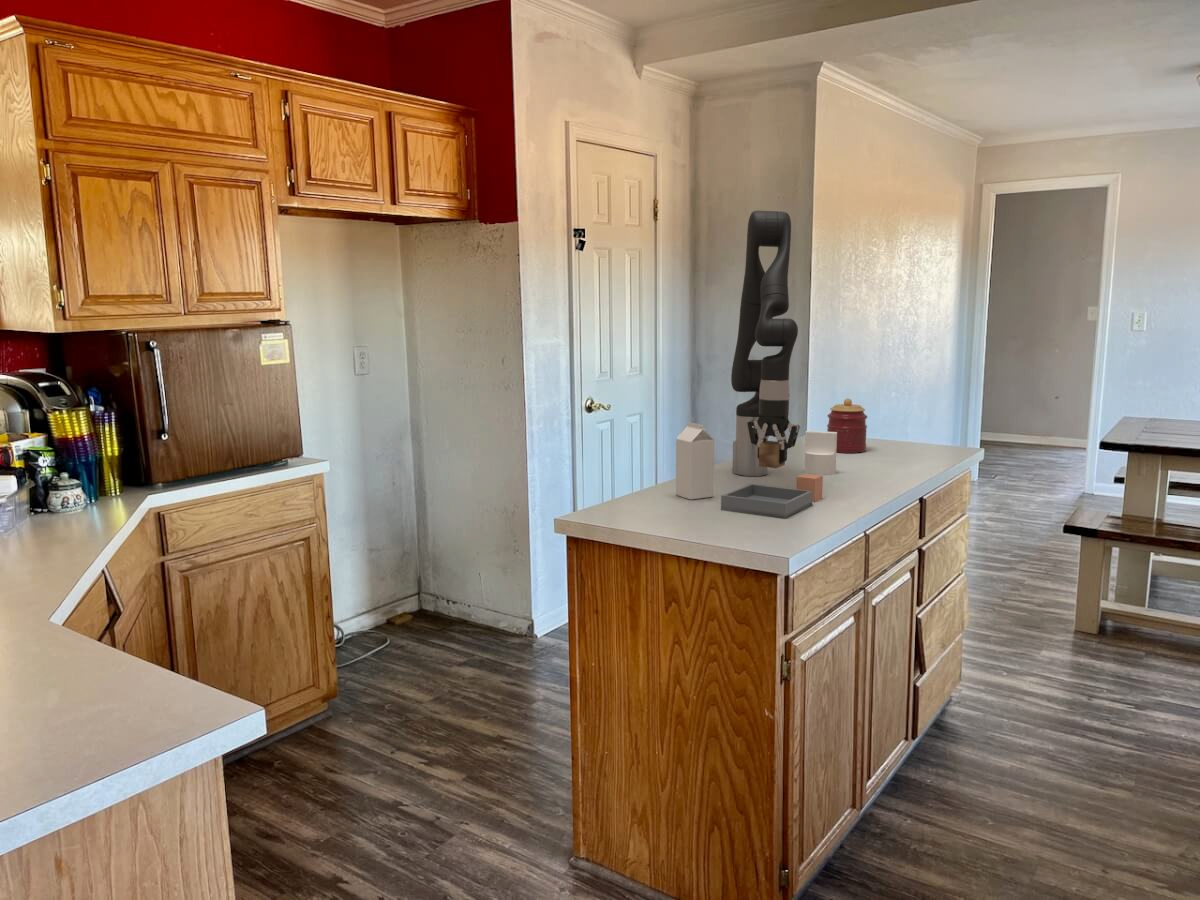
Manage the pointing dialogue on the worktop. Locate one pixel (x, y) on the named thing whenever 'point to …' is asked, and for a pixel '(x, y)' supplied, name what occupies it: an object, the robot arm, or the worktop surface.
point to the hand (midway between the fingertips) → (772, 461)
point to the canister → (848, 427)
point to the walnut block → (769, 454)
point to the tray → (767, 500)
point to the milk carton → (694, 463)
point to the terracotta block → (811, 485)
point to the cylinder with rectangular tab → (820, 452)
